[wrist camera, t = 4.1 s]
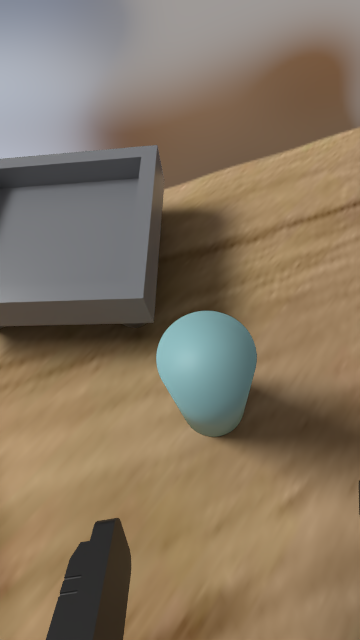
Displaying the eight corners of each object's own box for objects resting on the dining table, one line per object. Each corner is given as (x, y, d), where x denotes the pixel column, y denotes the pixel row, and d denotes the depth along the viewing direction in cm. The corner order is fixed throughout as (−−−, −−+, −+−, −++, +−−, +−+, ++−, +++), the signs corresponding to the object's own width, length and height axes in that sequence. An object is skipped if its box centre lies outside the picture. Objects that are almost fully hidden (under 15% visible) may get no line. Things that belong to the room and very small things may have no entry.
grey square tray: (169, 205, 32) (157, 145, 27) (161, 339, 26) (142, 298, 21) (15, 215, 34) (-28, 161, 29) (-27, 342, 28) (-91, 305, 22)
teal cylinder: (242, 373, 24) (253, 309, 15) (246, 437, 22) (260, 405, 14) (182, 373, 25) (159, 311, 16) (180, 436, 23) (153, 405, 14)
